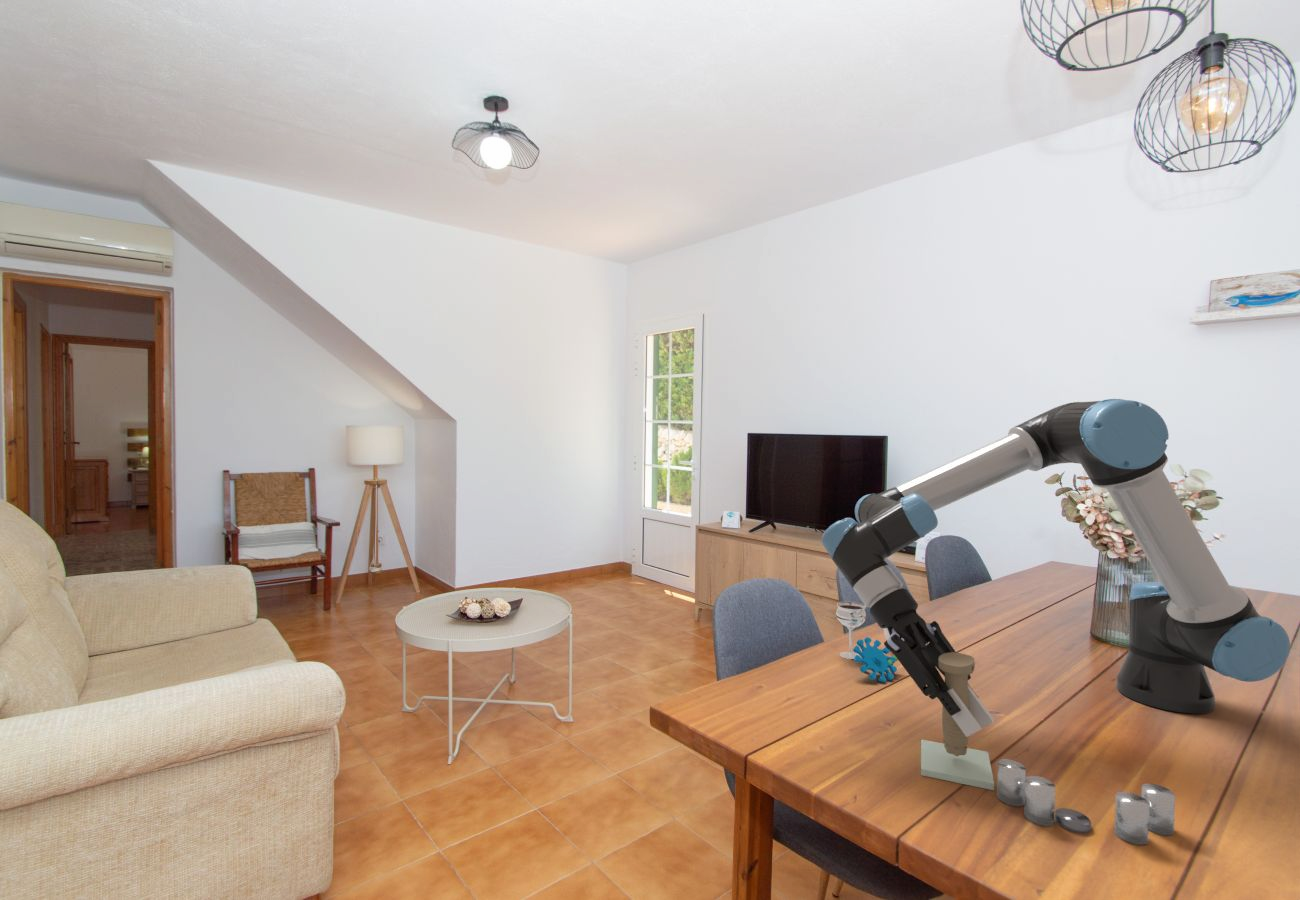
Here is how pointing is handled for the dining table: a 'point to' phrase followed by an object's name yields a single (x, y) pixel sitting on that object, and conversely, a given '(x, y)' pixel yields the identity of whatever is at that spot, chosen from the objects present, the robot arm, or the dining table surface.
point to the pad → (956, 765)
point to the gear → (875, 659)
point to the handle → (957, 678)
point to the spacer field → (1130, 809)
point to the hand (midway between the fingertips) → (980, 728)
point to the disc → (1072, 820)
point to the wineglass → (850, 620)
